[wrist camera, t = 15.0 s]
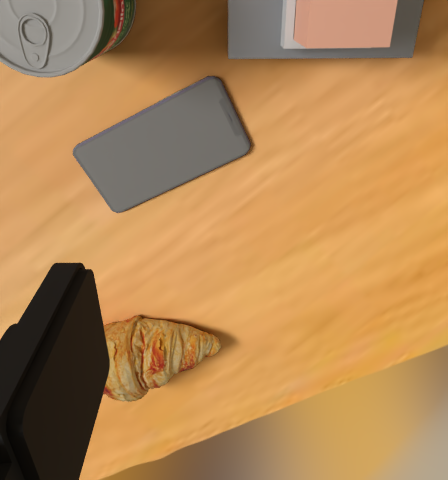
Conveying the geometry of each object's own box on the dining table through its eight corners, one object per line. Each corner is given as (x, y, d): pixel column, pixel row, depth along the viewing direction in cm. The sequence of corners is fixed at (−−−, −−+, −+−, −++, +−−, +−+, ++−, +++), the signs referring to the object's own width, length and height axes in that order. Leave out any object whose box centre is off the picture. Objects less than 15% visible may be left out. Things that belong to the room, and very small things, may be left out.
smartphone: (67, 149, 38) (216, 72, 35) (71, 146, 39) (216, 70, 36) (114, 216, 42) (254, 151, 39) (116, 212, 43) (253, 148, 39)
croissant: (215, 295, 52) (208, 309, 44) (229, 376, 52) (226, 404, 44) (48, 324, 53) (13, 342, 45) (64, 402, 54) (32, 434, 46)
